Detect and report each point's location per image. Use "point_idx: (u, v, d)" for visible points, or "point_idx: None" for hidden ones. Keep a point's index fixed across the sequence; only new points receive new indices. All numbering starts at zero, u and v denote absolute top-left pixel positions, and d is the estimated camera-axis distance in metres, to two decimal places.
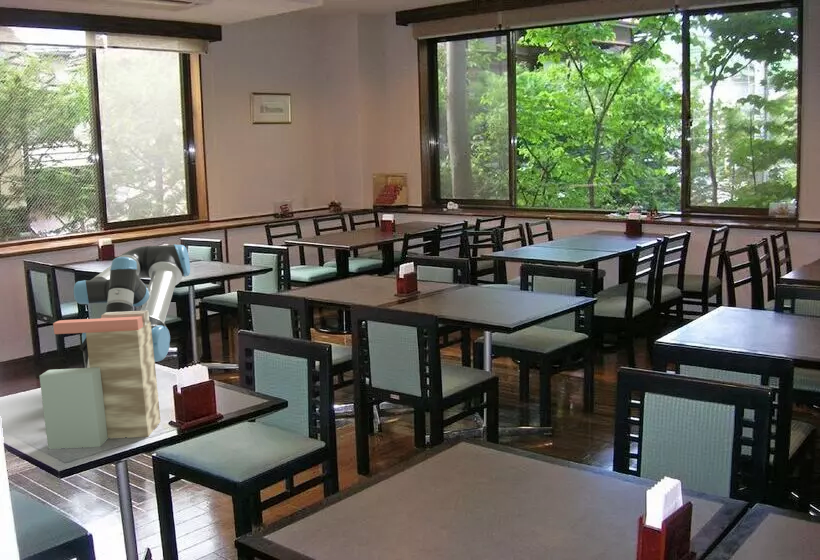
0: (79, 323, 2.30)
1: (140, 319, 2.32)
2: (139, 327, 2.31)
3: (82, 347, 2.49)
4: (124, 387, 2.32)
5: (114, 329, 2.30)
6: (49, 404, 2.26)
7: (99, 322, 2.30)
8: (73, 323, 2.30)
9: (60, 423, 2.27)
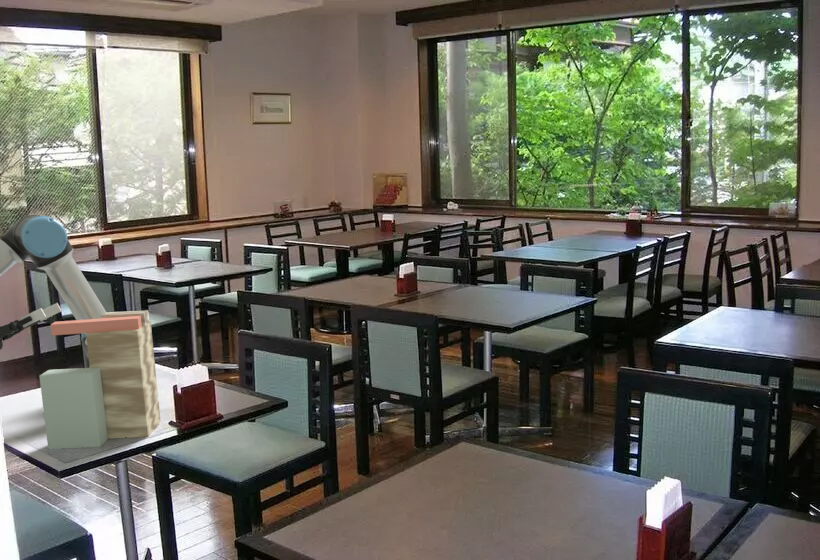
0: (78, 324, 2.29)
1: (140, 318, 2.33)
2: (139, 326, 2.32)
3: None
4: (124, 387, 2.32)
5: (114, 329, 2.31)
6: (49, 404, 2.26)
7: (98, 322, 2.30)
8: (71, 324, 2.29)
9: (60, 423, 2.27)
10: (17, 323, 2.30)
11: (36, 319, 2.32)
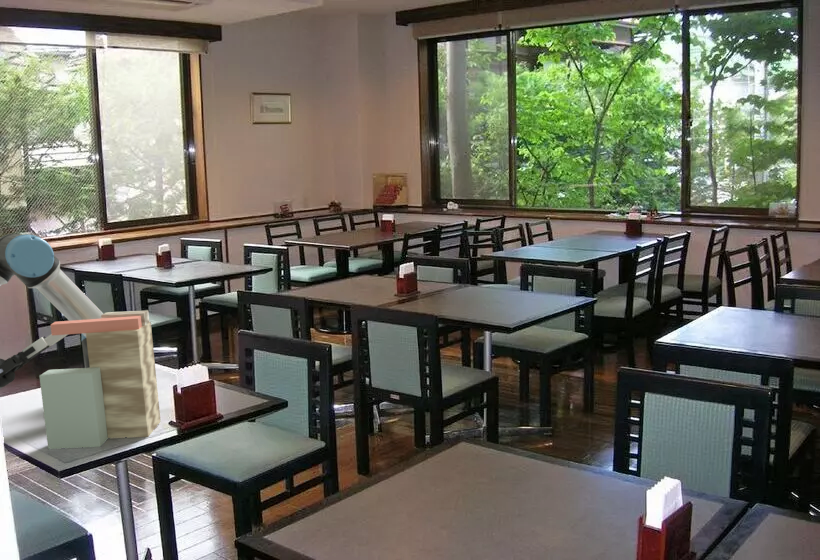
0: (78, 324, 2.29)
1: (140, 318, 2.33)
2: (139, 326, 2.32)
3: None
4: (124, 387, 2.32)
5: (114, 329, 2.31)
6: (49, 404, 2.26)
7: (98, 322, 2.30)
8: (71, 324, 2.29)
9: (60, 423, 2.27)
10: (20, 355, 2.24)
11: (39, 349, 2.25)
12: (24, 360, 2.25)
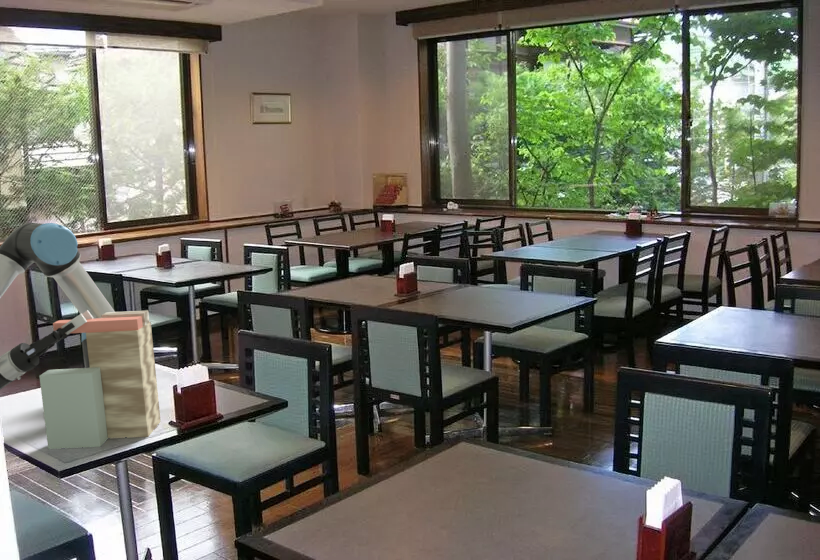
0: None
1: (140, 319, 2.32)
2: (139, 327, 2.31)
3: None
4: (124, 387, 2.32)
5: (114, 329, 2.30)
6: (49, 404, 2.26)
7: (99, 322, 2.30)
8: None
9: (60, 423, 2.27)
10: (60, 331, 2.28)
11: (78, 325, 2.29)
12: (64, 335, 2.29)
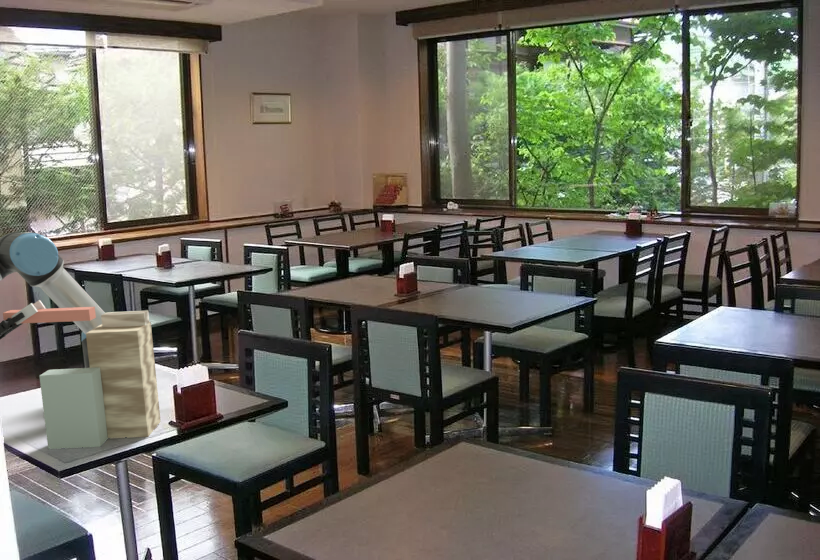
0: None
1: (92, 309, 2.26)
2: (91, 318, 2.25)
3: None
4: (124, 387, 2.32)
5: (65, 319, 2.24)
6: (49, 404, 2.26)
7: (50, 312, 2.23)
8: None
9: (60, 423, 2.27)
10: (9, 321, 2.22)
11: (28, 315, 2.23)
12: (14, 325, 2.22)
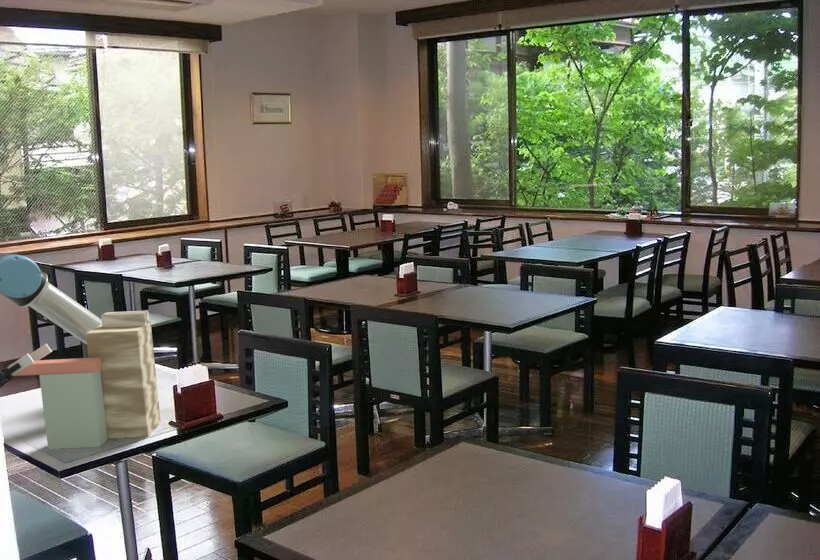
0: (36, 365, 2.25)
1: (98, 360, 2.27)
2: (97, 369, 2.26)
3: None
4: (124, 387, 2.32)
5: (71, 371, 2.25)
6: (49, 404, 2.26)
7: (56, 364, 2.25)
8: (30, 365, 2.25)
9: (60, 423, 2.27)
10: (5, 372, 2.20)
11: (24, 365, 2.21)
12: (10, 377, 2.20)
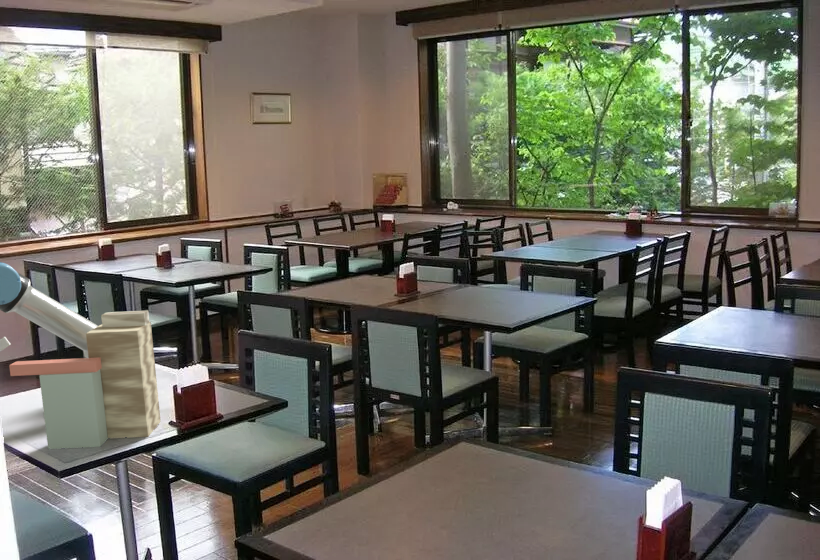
0: (36, 365, 2.25)
1: (98, 360, 2.27)
2: (97, 369, 2.26)
3: None
4: (124, 387, 2.32)
5: (71, 371, 2.25)
6: (49, 404, 2.26)
7: (56, 364, 2.25)
8: (30, 365, 2.25)
9: (60, 423, 2.27)
10: None
11: None
12: None
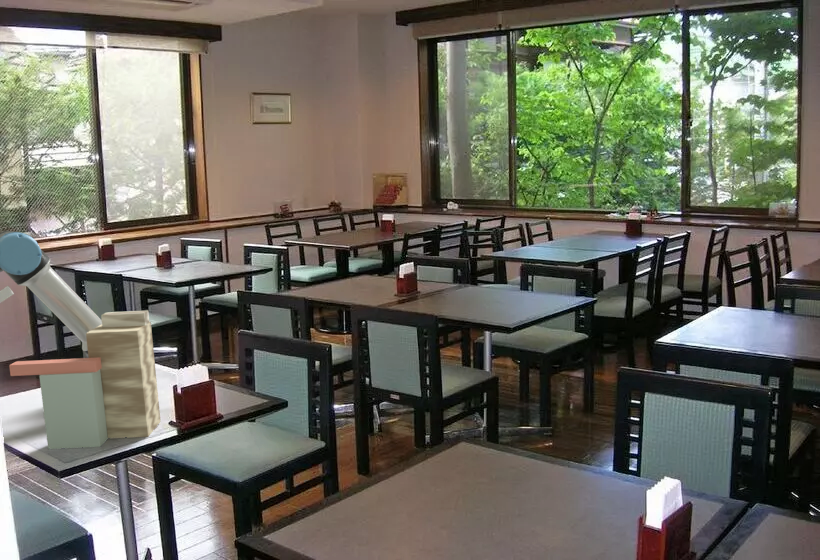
0: (36, 365, 2.25)
1: (98, 360, 2.27)
2: (97, 369, 2.26)
3: None
4: (124, 387, 2.32)
5: (71, 371, 2.25)
6: (49, 404, 2.26)
7: (56, 364, 2.25)
8: (30, 365, 2.25)
9: (60, 423, 2.27)
10: None
11: None
12: None
